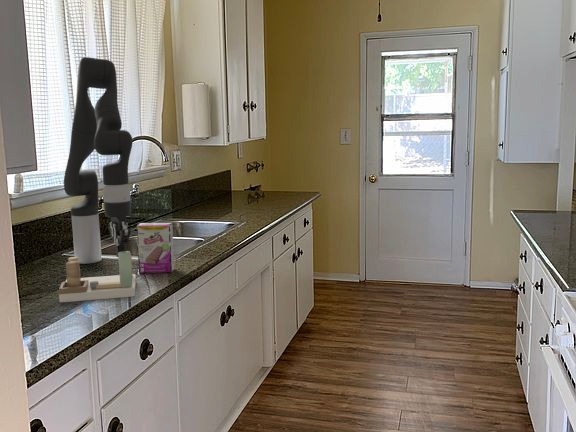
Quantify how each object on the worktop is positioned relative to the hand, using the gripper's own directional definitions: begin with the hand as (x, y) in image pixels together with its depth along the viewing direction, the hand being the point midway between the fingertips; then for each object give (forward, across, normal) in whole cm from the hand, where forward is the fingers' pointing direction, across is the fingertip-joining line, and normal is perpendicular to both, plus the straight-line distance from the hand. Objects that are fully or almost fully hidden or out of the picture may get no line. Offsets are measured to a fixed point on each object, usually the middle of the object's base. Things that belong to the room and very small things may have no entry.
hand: (120, 257), depth 172 cm
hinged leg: (+8, -2, +4) cm, 9 cm away
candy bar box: (+11, +15, -17) cm, 25 cm away
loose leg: (+8, +3, +13) cm, 16 cm away
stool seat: (+10, +4, +6) cm, 13 cm away
